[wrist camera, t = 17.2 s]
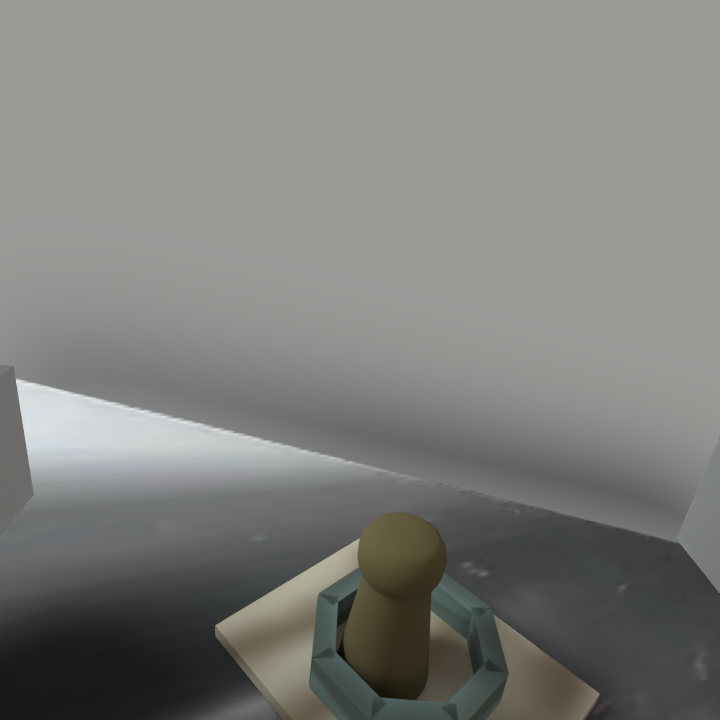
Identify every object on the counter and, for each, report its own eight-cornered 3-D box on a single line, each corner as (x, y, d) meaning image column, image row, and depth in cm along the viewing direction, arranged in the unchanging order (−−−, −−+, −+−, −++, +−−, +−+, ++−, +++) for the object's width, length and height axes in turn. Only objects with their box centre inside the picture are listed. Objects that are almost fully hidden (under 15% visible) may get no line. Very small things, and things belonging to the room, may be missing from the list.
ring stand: (215, 636, 37) (215, 597, 36) (375, 536, 48) (380, 504, 47) (449, 926, 25) (462, 884, 23) (595, 704, 36) (610, 666, 34)
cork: (358, 724, 32) (381, 581, 27) (322, 639, 37) (337, 507, 32) (445, 691, 34) (480, 556, 30) (401, 616, 39) (425, 490, 35)
